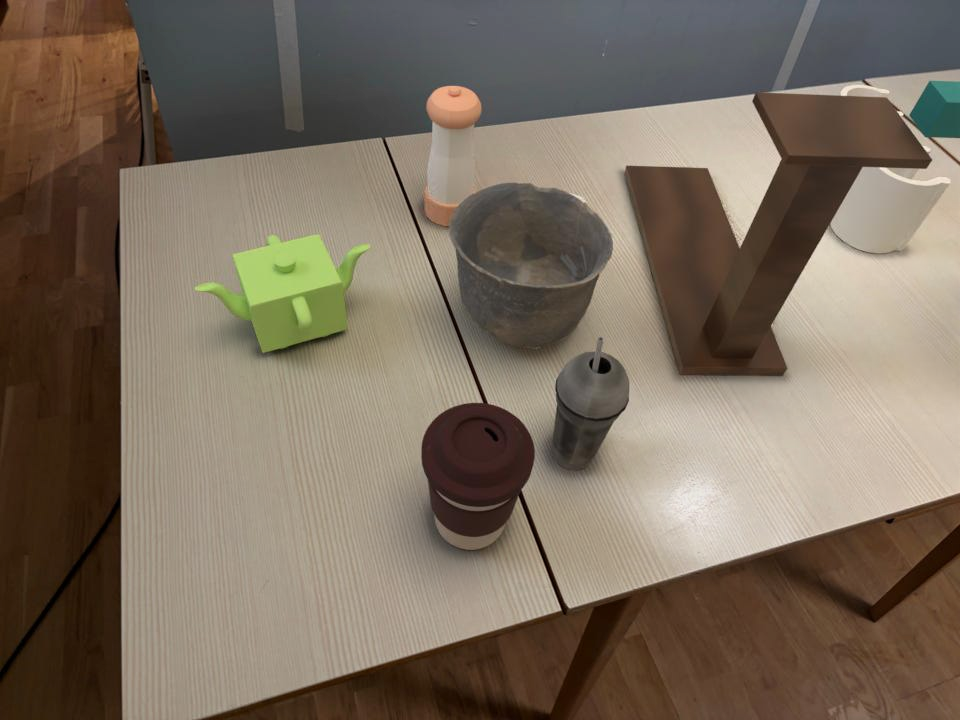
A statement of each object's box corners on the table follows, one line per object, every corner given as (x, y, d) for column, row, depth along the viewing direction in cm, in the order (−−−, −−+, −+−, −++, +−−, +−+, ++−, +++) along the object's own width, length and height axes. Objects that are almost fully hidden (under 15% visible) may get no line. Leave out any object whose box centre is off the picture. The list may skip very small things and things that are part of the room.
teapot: (375, 299, 90) (371, 236, 82) (332, 378, 82) (322, 316, 74) (265, 270, 92) (250, 205, 84) (212, 344, 84) (190, 280, 76)
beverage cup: (619, 459, 78) (668, 341, 62) (569, 493, 75) (609, 378, 59) (574, 414, 81) (611, 291, 66) (526, 445, 78) (552, 324, 63)
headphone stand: (704, 175, 112) (785, -40, 87) (785, 382, 86) (933, 159, 61) (624, 173, 111) (682, -46, 86) (681, 381, 85) (788, 154, 60)
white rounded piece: (796, 149, 118) (828, 82, 109) (853, 153, 119) (890, 86, 109) (841, 251, 103) (884, 182, 93) (907, 255, 103) (956, 187, 94)
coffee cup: (423, 568, 69) (424, 493, 57) (419, 477, 75) (418, 393, 63) (524, 561, 70) (545, 486, 58) (512, 472, 76) (528, 389, 64)
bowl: (466, 388, 82) (473, 299, 71) (431, 283, 93) (433, 190, 81) (606, 363, 86) (636, 274, 75) (558, 264, 97) (578, 173, 85)
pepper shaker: (450, 188, 106) (455, 66, 91) (485, 212, 103) (496, 90, 88) (414, 208, 102) (413, 85, 87) (448, 233, 99) (454, 110, 84)
